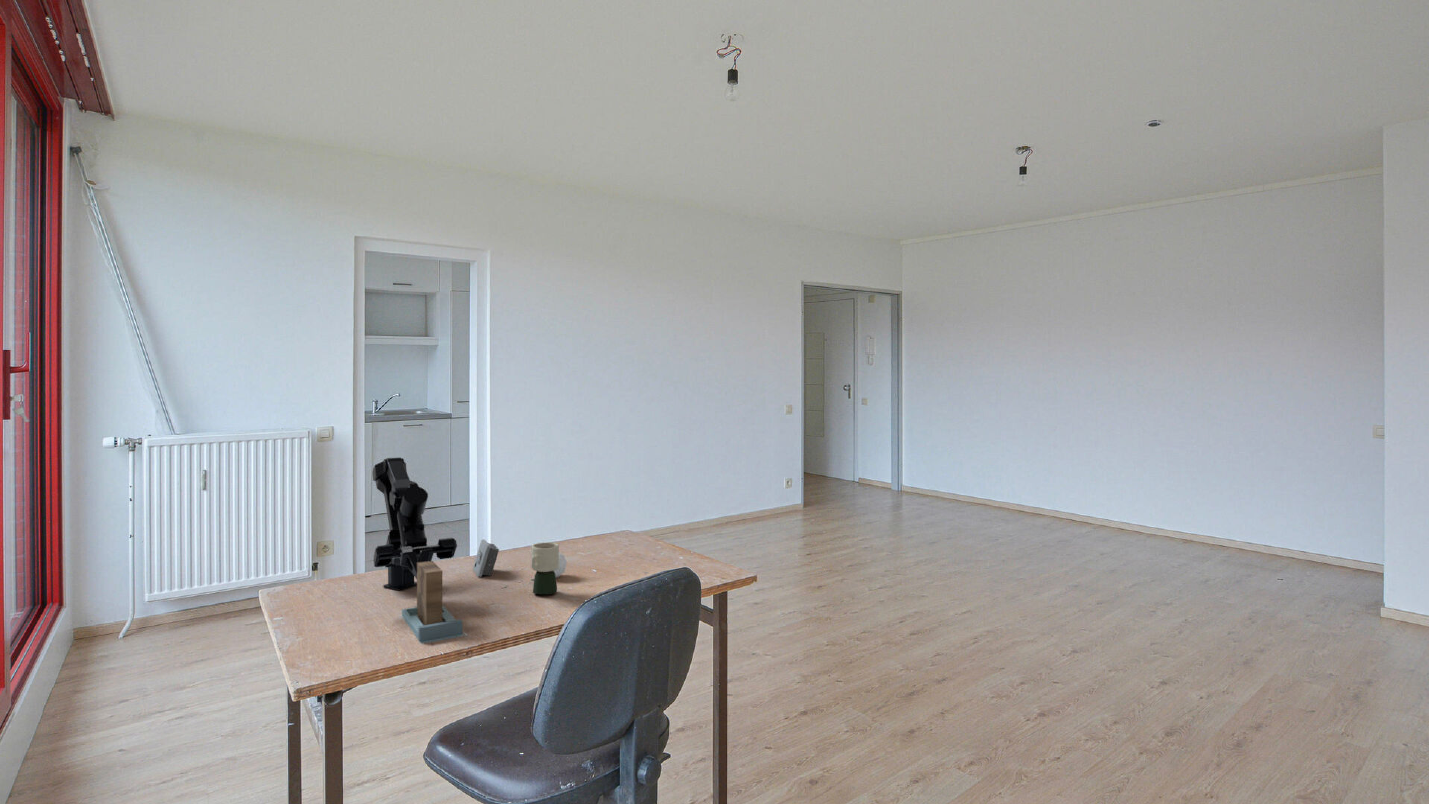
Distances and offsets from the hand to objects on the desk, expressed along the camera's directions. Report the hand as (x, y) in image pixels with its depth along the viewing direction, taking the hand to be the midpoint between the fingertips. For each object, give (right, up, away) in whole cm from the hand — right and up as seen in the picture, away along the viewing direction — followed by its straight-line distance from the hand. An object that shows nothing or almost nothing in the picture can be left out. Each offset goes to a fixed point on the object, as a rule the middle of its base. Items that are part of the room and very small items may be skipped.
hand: (421, 581), depth 176 cm
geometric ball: (+25, -7, +32) cm, 41 cm away
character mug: (+26, -8, +17) cm, 32 cm away
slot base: (+6, -8, -9) cm, 14 cm away
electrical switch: (+4, -6, +36) cm, 37 cm away
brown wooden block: (+5, -8, -7) cm, 11 cm away
